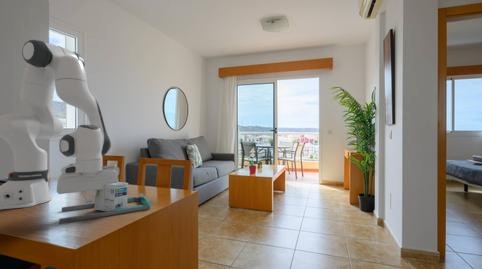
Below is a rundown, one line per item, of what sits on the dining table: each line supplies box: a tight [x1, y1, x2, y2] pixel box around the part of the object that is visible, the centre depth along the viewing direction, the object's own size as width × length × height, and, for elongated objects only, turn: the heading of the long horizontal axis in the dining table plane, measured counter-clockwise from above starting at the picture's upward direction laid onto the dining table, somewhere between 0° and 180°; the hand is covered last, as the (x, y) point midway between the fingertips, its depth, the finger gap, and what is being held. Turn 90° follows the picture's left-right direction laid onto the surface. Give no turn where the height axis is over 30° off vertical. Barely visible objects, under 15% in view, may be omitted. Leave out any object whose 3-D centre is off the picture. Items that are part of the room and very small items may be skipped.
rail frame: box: [58, 193, 152, 225], centre depth 97 cm, size 30×16×3 cm, turn 124°
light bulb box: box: [93, 181, 129, 212], centre depth 97 cm, size 11×7×11 cm, turn 71°
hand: (89, 202), depth 93 cm, fingers closed
